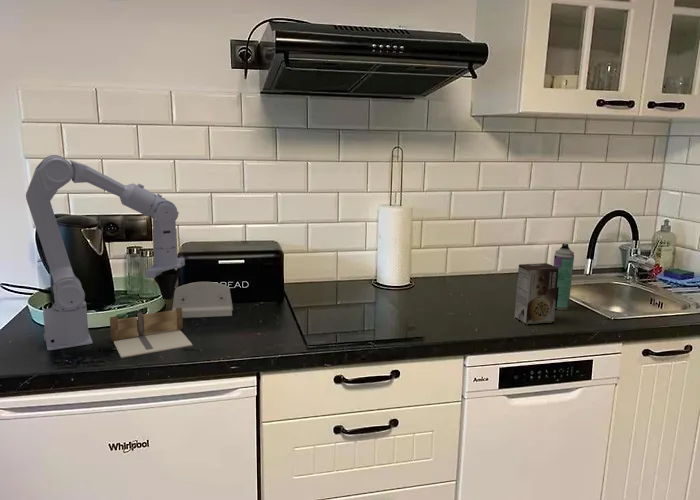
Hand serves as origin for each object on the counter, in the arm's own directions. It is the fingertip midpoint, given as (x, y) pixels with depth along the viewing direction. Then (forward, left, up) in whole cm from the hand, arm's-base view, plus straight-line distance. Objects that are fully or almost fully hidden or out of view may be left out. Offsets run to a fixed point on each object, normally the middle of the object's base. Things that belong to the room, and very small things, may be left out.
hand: (167, 298), depth 143 cm
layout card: (-6, -8, -8) cm, 13 cm away
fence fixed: (-11, -3, -8) cm, 14 cm away
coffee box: (+91, -40, -8) cm, 100 cm away
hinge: (+11, +9, -8) cm, 17 cm away
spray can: (+108, -35, -8) cm, 114 cm away
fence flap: (-3, -4, -7) cm, 9 cm away
